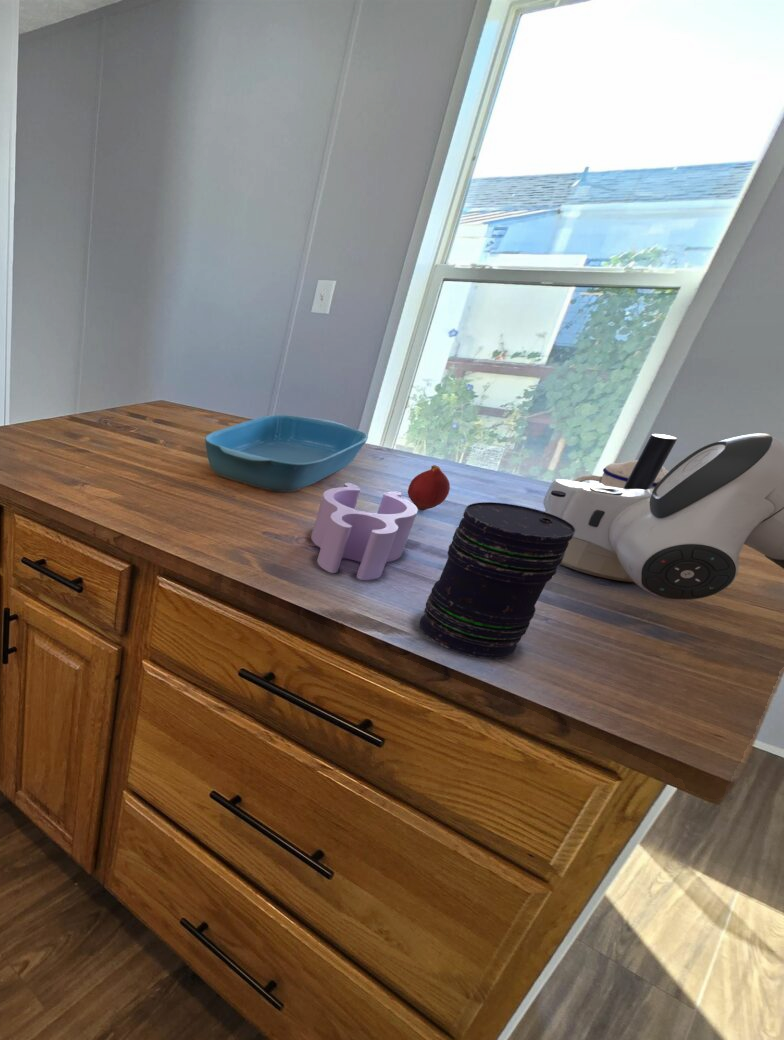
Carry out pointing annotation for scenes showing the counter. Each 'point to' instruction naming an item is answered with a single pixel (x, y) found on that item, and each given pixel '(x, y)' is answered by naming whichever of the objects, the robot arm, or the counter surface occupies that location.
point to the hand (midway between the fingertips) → (631, 493)
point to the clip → (361, 530)
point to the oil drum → (494, 578)
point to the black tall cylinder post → (650, 461)
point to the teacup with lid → (619, 475)
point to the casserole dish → (282, 451)
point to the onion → (429, 488)
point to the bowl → (593, 560)
